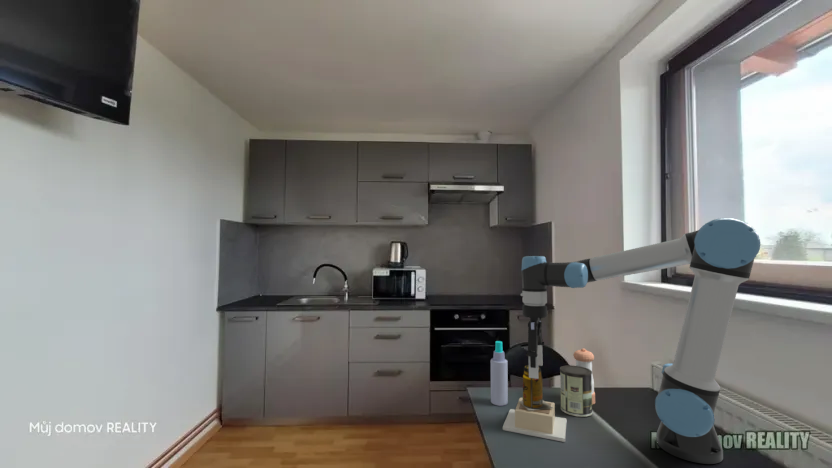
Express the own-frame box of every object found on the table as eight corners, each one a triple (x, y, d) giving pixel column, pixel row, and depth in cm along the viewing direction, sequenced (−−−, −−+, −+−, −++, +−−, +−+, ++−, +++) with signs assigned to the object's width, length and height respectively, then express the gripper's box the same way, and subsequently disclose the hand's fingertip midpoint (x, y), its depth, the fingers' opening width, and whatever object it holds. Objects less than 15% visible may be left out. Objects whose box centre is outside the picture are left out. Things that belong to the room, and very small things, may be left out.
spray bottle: (506, 399, 140) (506, 340, 140) (508, 406, 134) (508, 344, 134) (489, 399, 140) (489, 339, 141) (491, 405, 134) (491, 343, 135)
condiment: (518, 401, 123) (517, 364, 123) (542, 399, 124) (541, 363, 125) (528, 411, 116) (528, 371, 116) (553, 409, 117) (553, 370, 118)
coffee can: (584, 404, 135) (584, 365, 136) (597, 417, 125) (597, 374, 126) (556, 404, 136) (555, 364, 136) (566, 416, 125) (566, 373, 126)
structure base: (566, 421, 122) (566, 402, 122) (565, 442, 109) (564, 420, 110) (510, 411, 129) (510, 393, 130) (502, 429, 117) (502, 409, 117)
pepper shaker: (572, 402, 137) (571, 349, 138) (574, 395, 144) (573, 345, 144) (594, 406, 134) (593, 352, 134) (595, 399, 140) (594, 347, 141)
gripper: (527, 298, 134) (528, 359, 133) (516, 309, 111) (518, 382, 110) (549, 299, 131) (551, 361, 130) (543, 310, 108) (545, 385, 107)
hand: (536, 371), depth 120 cm, fingers open, 13 cm apart
